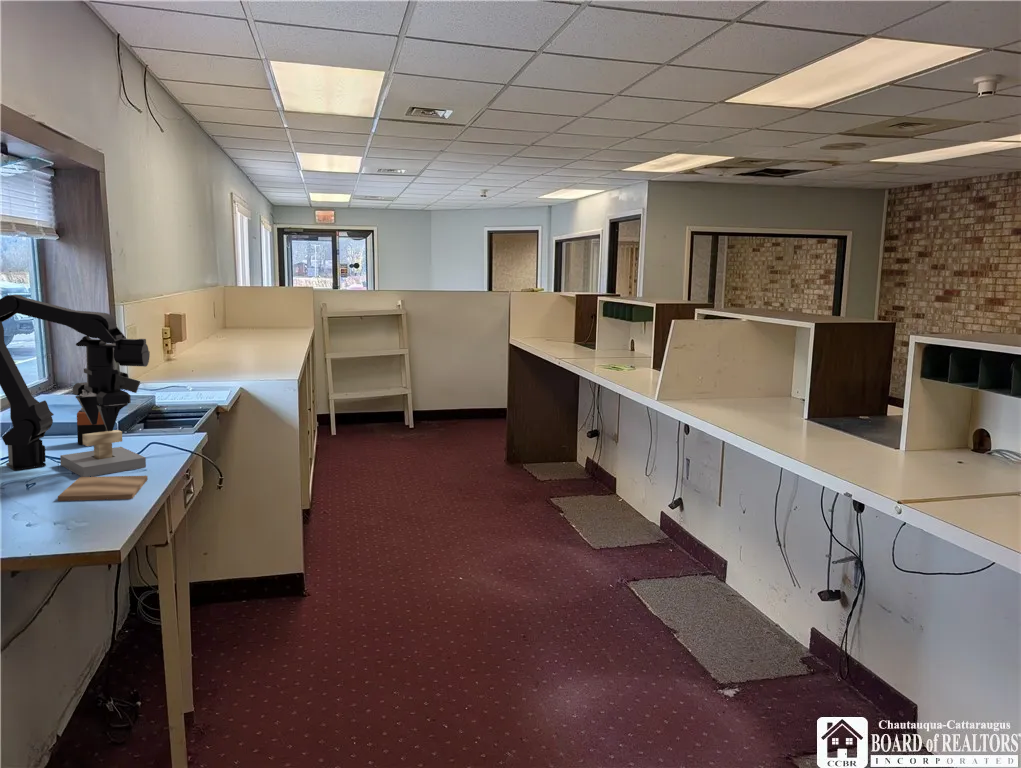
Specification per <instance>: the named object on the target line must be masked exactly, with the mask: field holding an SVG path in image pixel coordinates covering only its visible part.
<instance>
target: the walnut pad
mask: <svg viewBox="0 0 1021 768" xmlns="http://www.w3.org/2000/svg"><path fill="white" fill-rule="evenodd" d="M148 479H149V478H148V475H118V476H117V475H116V476H115V475H114V476H112V475H111V476H108V475H107V476H91V477H81V476H79V477H78V478H76V480H74V481H73V482H72V483H71V484H70V485H69V486H68V487H66V489H64V490H63V491H62V492H61V493H60V494H59V495H57V501H58V502H61V501H62V502H64V501H67V502H68V501H70V502H71V501H100V500H105V499H106V500H133V499H134V498H135V496H136V495H137V494H138V493H139V492H140V490H141V488H142V487H143V486H144V485H145V484H146V482H148Z"/></svg>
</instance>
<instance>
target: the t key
mask: <svg viewBox="0 0 1021 768" xmlns="http://www.w3.org/2000/svg"><path fill="white" fill-rule="evenodd" d="M119 442H123V431H121V430H119V429H116V430H115V429H113V431H105V432H97V433H89V434H83V445H82V446H86V447H92V446H93V451H94V458H95V459H97V460H98V459H105V458H111V457H112V448H113V444H114V443H119Z"/></svg>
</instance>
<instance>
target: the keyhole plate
mask: <svg viewBox="0 0 1021 768" xmlns="http://www.w3.org/2000/svg"><path fill="white" fill-rule="evenodd" d="M59 456H60V466H61V467H63V468H65V469H67V470H69V471H70V472H73V473H74V474H75V475H78V476H79V477H90V476H91V477H98V476H102V475H108V474H109V475H110V474H114V473H119V472H125V471H131V470H137V469H143V468H146V466H147V464H146V463H147V461H146V459H147V458H146V457H145V456H143V455H140V454H139V453H136V452H134V451H132V450H130V449H127V448H125V447H123V446H117V447H116V446H115V447H112V457H111V458H105V459H98V460H97V459H95V458H94V450H89V451H87V450H86V451H82V452H75V453H68V454H67V453H66V454H60V455H59Z"/></svg>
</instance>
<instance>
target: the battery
mask: <svg viewBox="0 0 1021 768" xmlns="http://www.w3.org/2000/svg"><path fill="white" fill-rule="evenodd" d="M76 431H77V432H76V433H77V434H76V435H77V436H76V437H77V444H78V446H84V445H83V434H89V433H97V432H105V431H107V429H106V427H105V425H104V422H103V420H102V417H101V414H100V412H99V413H98V420H97V424H94V425H92V424H91V422H90V420H89V419H88V417H87V415H86V413H85V411H84V410H83V408H82V407H80V409H79V410H78V411H77V413H76Z"/></svg>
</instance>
